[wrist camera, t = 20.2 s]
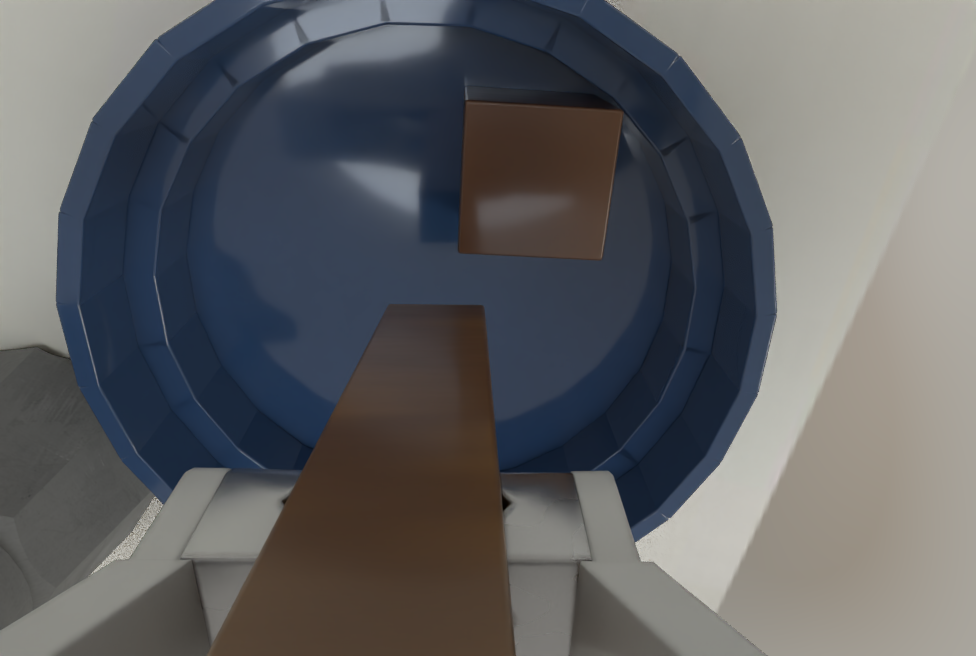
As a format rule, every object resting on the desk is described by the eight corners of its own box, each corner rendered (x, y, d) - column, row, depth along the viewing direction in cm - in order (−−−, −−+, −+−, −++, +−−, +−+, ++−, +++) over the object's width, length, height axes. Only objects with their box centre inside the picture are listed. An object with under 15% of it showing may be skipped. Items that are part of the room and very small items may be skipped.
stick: (484, 304, 16) (557, 1075, 3) (483, 394, 17) (536, 1382, 3) (387, 303, 16) (-30, 1090, 3) (389, 394, 17) (63, 1401, 3)
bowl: (758, -20, 19) (860, -34, 14) (664, 499, 27) (709, 604, 22) (91, -45, 18) (-46, -70, 14) (197, 497, 27) (136, 607, 22)
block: (595, 94, 20) (625, 109, 16) (579, 222, 22) (603, 261, 18) (464, 85, 20) (464, 99, 16) (458, 215, 21) (457, 254, 18)
